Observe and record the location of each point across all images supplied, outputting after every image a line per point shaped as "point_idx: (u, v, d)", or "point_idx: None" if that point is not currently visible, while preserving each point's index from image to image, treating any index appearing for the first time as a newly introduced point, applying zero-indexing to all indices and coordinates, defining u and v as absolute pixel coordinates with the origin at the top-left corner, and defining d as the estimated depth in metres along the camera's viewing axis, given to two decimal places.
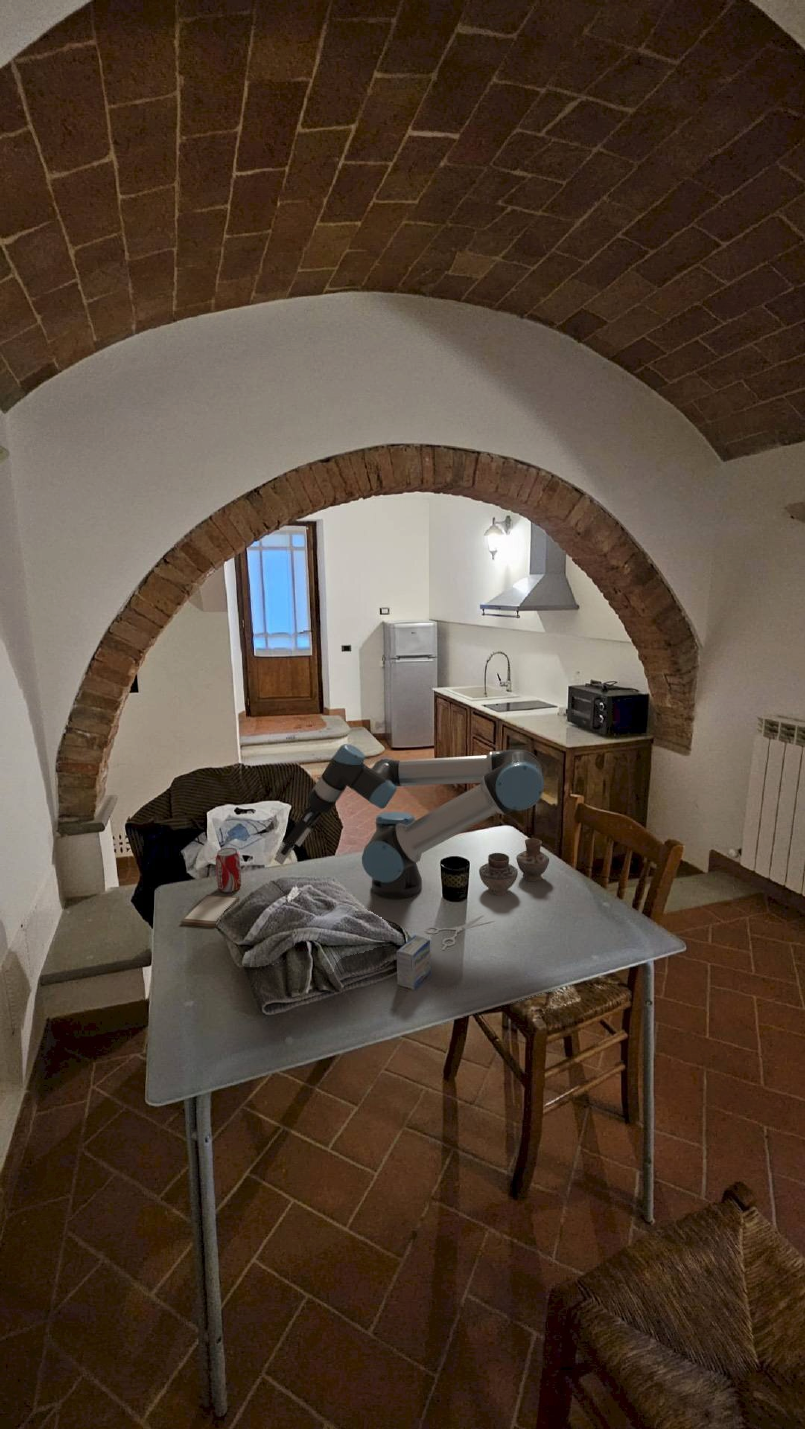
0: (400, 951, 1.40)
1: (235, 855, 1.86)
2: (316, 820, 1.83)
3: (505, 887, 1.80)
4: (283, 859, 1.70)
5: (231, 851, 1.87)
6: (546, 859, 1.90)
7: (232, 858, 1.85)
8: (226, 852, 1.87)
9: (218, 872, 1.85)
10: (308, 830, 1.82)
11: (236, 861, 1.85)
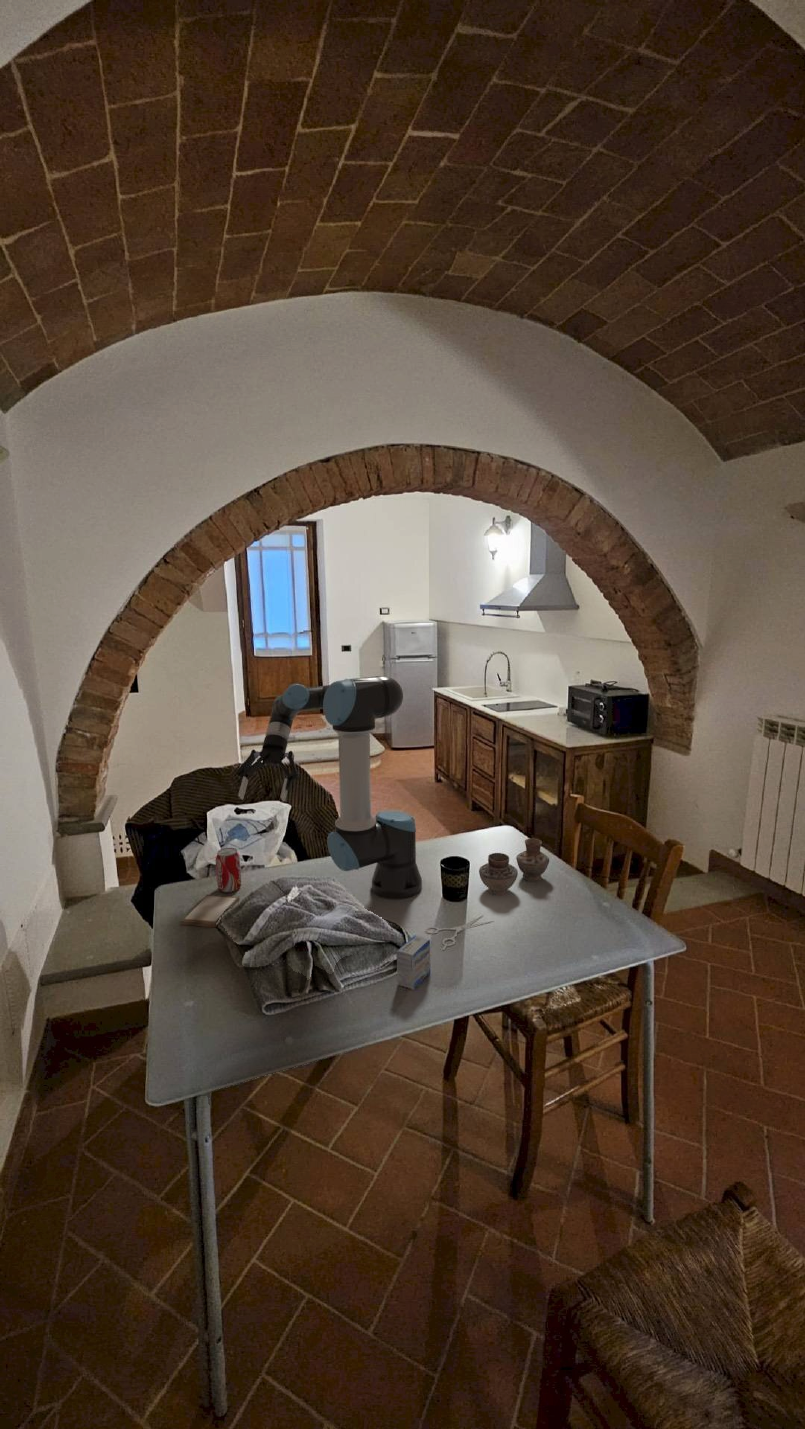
0: (400, 951, 1.40)
1: (235, 855, 1.86)
2: (292, 771, 1.94)
3: (505, 887, 1.80)
4: None
5: (231, 851, 1.87)
6: (546, 859, 1.90)
7: (232, 858, 1.85)
8: (226, 852, 1.87)
9: (218, 872, 1.85)
10: None
11: (236, 861, 1.85)
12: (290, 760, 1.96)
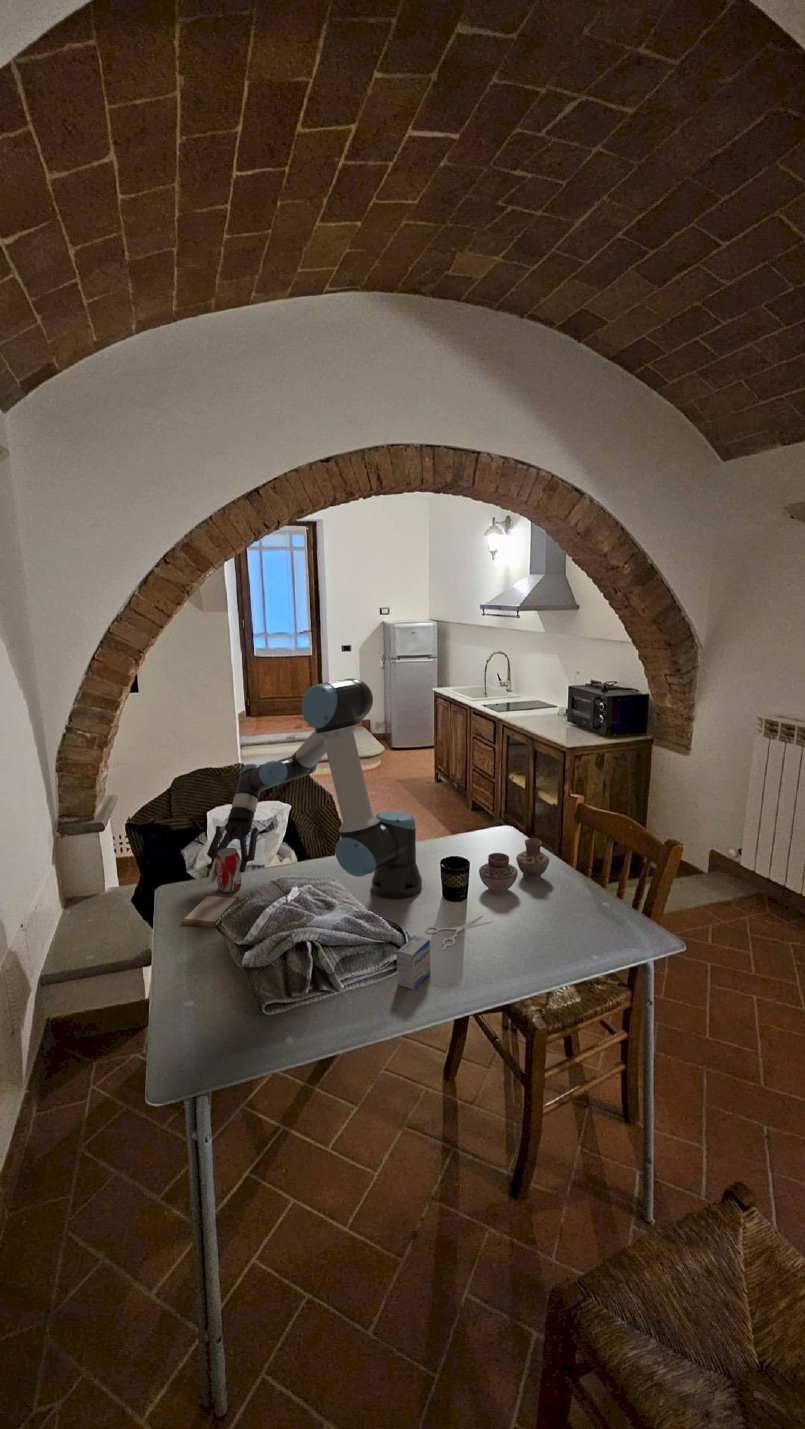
0: (400, 951, 1.40)
1: (235, 855, 1.86)
2: None
3: (505, 887, 1.80)
4: None
5: (231, 851, 1.87)
6: (546, 859, 1.90)
7: (232, 858, 1.85)
8: (226, 852, 1.87)
9: (218, 872, 1.85)
10: None
11: (236, 861, 1.85)
12: (251, 838, 1.90)
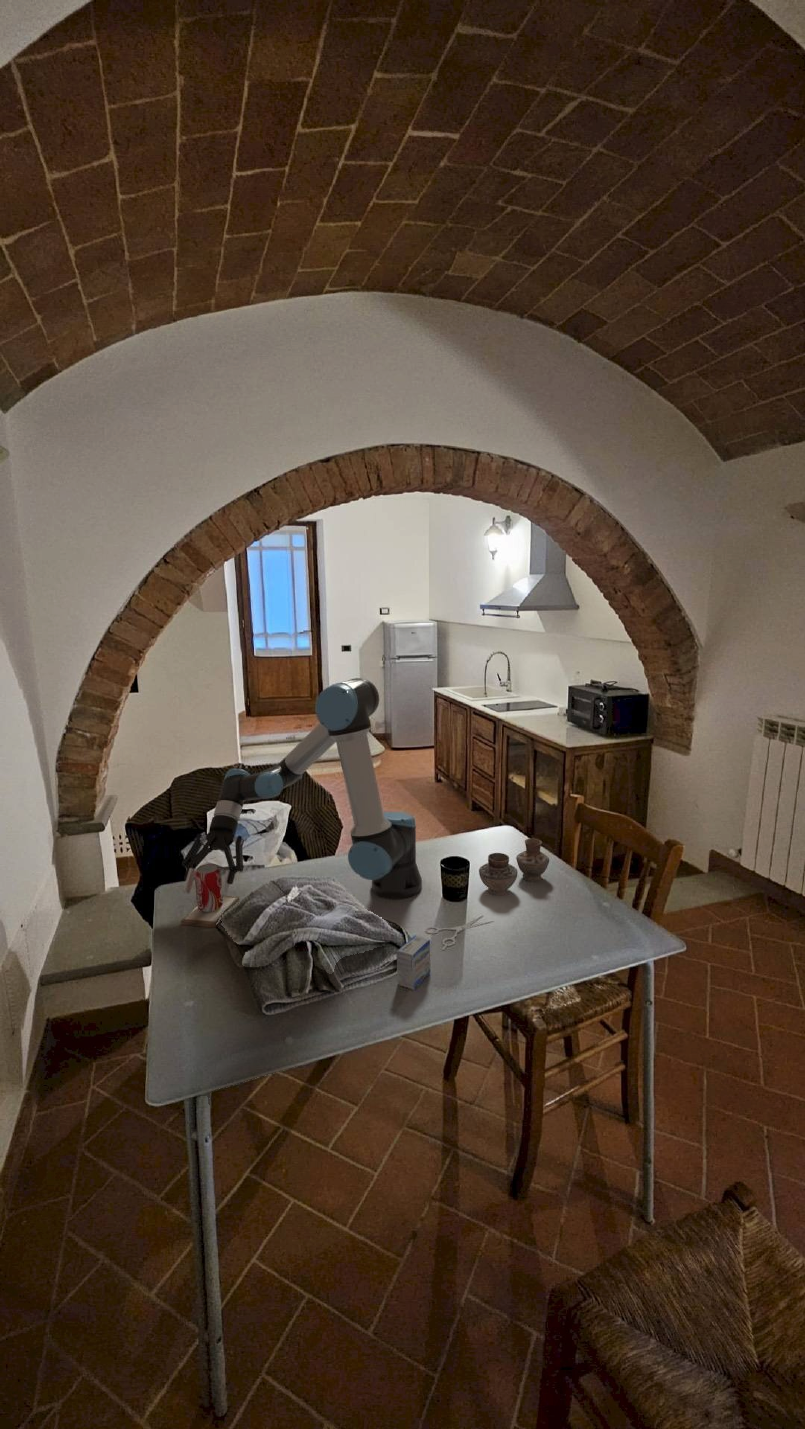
0: (400, 951, 1.40)
1: (216, 872, 1.72)
2: None
3: (505, 887, 1.80)
4: None
5: (212, 868, 1.73)
6: (546, 859, 1.90)
7: (213, 875, 1.71)
8: (206, 869, 1.73)
9: (197, 890, 1.71)
10: None
11: (217, 879, 1.72)
12: (237, 847, 1.76)
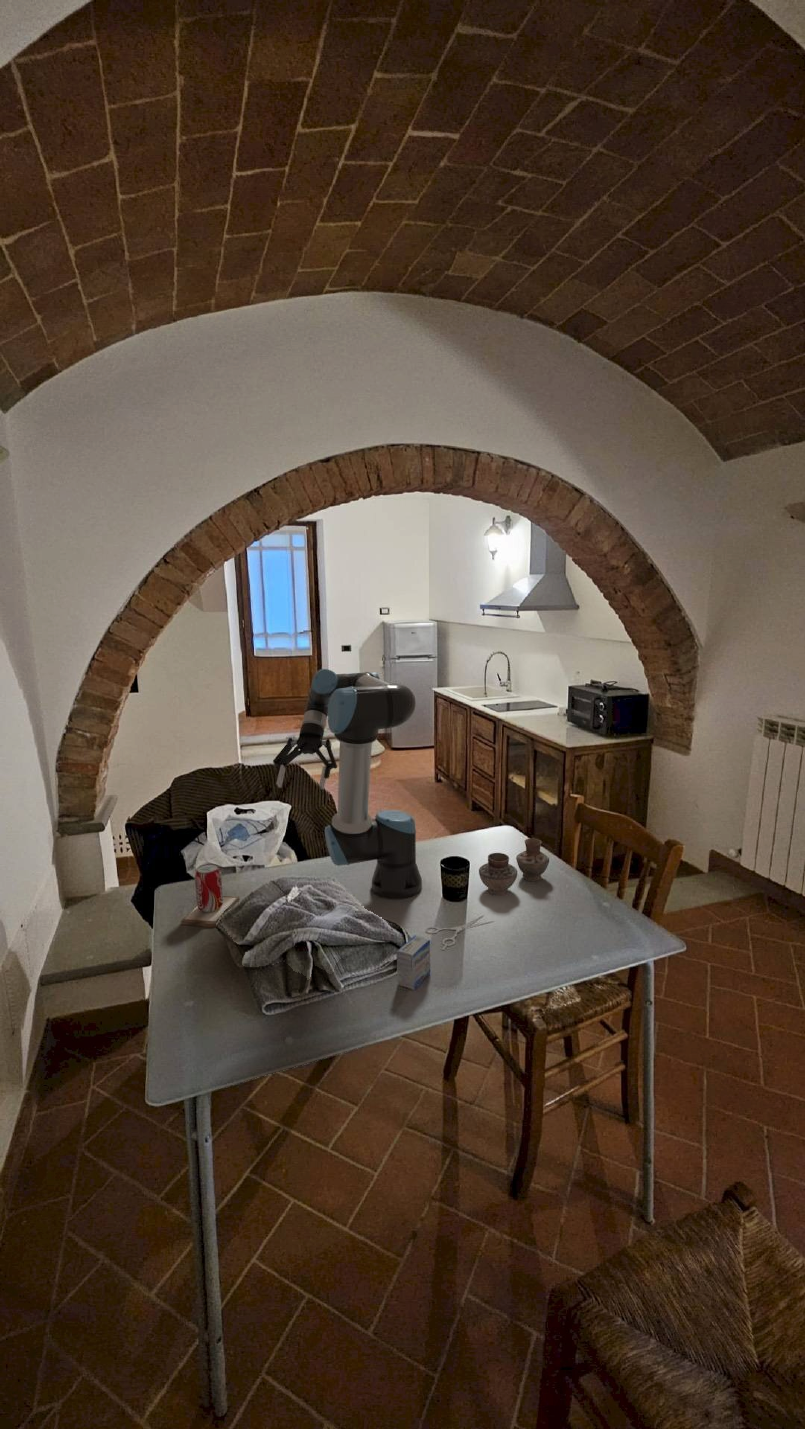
0: (400, 951, 1.40)
1: (216, 872, 1.72)
2: (330, 759, 1.93)
3: (505, 887, 1.80)
4: None
5: (212, 868, 1.73)
6: (546, 859, 1.90)
7: (213, 875, 1.71)
8: (206, 868, 1.73)
9: (197, 890, 1.71)
10: None
11: (217, 879, 1.72)
12: (328, 748, 1.95)
